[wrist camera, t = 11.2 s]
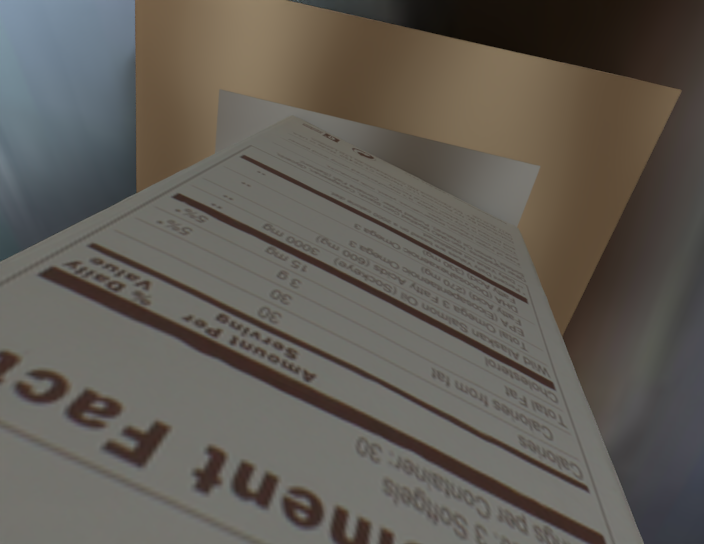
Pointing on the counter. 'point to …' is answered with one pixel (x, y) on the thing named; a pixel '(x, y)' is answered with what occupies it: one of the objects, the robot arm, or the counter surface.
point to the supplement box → (293, 367)
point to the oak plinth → (406, 115)
